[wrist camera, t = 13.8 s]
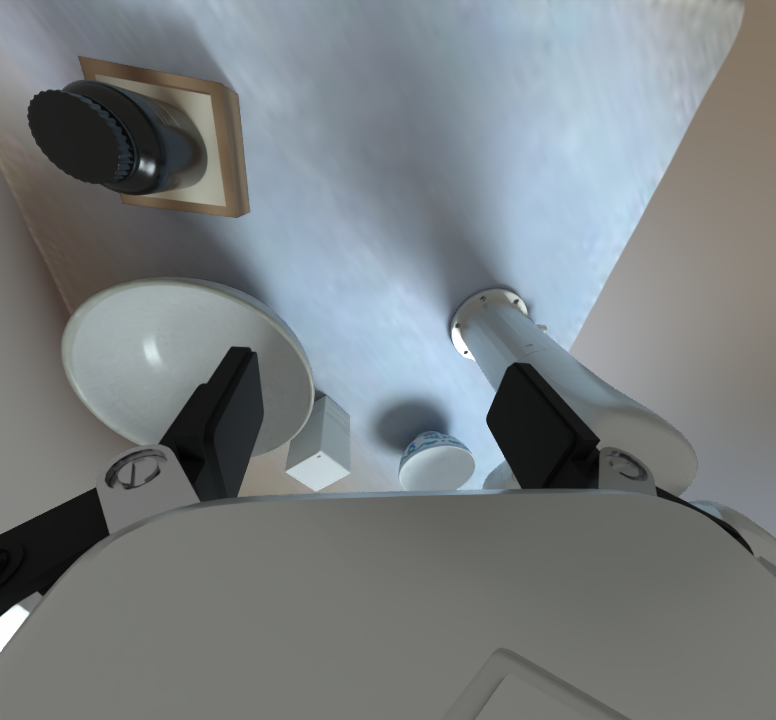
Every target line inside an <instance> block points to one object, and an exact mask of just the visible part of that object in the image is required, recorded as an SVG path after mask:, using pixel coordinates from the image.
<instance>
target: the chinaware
mask: <svg viewBox="0 0 776 720" xmlns="http://www.w3.org/2000/svg"><path fill="white" fill-rule="evenodd" d="M475 469H476V461H475V458H474V456H473V455H472V453H471V452H470V451H469V449H468V448H467V447H466V446H465V445H464V444H463V443H462V442H460V441H459V440H458V439H456V438H454V437H452V436H450V435H447V434H443V433H439V432H436V431H427V432H424V433H421V434H420V435H418V436H417V437H416V438H415V440H414V441H413V442H411V443H410V444H409V446H408V447H407V448H406V450H405V451H404V453H403V455H402V458H401V461H400V466H399V481H400V484H401V486H402V487H403V488H404V489H405V490H407V491H437V490H456V489H458V488H460V487H462V486H463V485H464V484H466V483H467V482H468V481H469V480H470V479H471V477H472V476H473V474H474V472H475Z"/></svg>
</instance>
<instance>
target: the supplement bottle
mask: <svg viewBox="0 0 776 720" xmlns="http://www.w3.org/2000/svg"><path fill="white" fill-rule="evenodd" d="M28 112H29V113H28V115H27V117H28V120H29V127H30V129H31V133H32V136H33V137H34V138H35V141H36V144H37V145H38V146H39V147H40V148H41V150H42V152H43V153H44V154H45V155H46V156H47V157H48V158H49V160H50V161H51V162H53V163H54V164H55V165H56V166H57V167H58V168H59V169H61V170H63V171H64V172H65V173H66V174H68V175H71V176H72V177H74V178H75V179H80V180H81V181H83V182H89V183H92V184H101V185H103V186H104V187H106V188H108V189H110V190H113V191H115V192H118V193H121V194H125V195H132V196H140V195H149V194H154V193H160V192H166V191H172V190H178V189H183V188H188V187H191V186H193V185H195V184H197V183H198V182H199V181H200V180H201V179H202V178H203V176H204V175H205V172H206V169H207V164H208V155H207V149H206V146H205V142H204V140H203V138H202V136H201V134H200V132H199V130H198V129H197V127H196V126H195V124H194V123H193V122H192V121H191V120H190V118H189V117H188V116H187V115H185V114H184V113H183V112H182V111H181V110H179V109H178V108H176V107H175V106H173V105H171V104H169V103H167V102H165V101H162V100H159V99H156V98H153V97H150V96H146V95H143V94H140V93H137V92H134V91H131V90H127V89H124V88H121V87H118V86H115V85H111V84H108V83H105V82H100V81H96V80H79V81H75V82H72V83H70V84H68V85H67V86H66V87H64V88H63V89H62V90H51V89H49V90H47V91H46V92H45V91H41V92H40V93H39V95H34V99H33V100H30V106H29V107H28Z"/></svg>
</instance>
